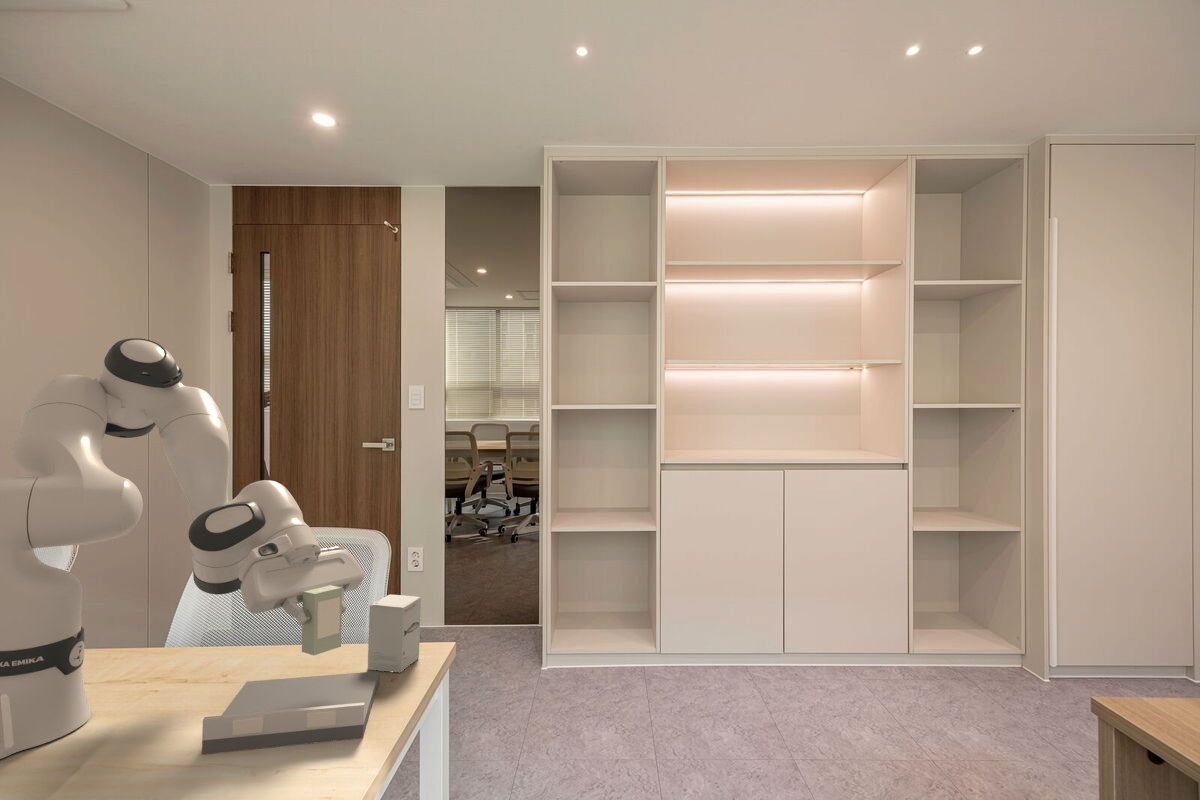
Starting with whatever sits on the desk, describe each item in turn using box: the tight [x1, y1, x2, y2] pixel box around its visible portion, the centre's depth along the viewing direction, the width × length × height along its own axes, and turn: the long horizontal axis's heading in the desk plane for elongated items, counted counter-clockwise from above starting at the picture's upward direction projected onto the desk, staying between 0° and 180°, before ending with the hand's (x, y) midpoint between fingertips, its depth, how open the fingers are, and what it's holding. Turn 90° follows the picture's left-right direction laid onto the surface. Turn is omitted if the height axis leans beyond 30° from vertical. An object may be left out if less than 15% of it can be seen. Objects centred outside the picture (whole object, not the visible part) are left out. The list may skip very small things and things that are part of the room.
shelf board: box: [201, 670, 380, 755], centre depth 98 cm, size 22×19×5 cm
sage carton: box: [301, 585, 342, 656], centre depth 102 cm, size 5×4×10 cm
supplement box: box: [366, 594, 422, 674], centre depth 118 cm, size 7×7×13 cm
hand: (324, 617), depth 101 cm, fingers closed on sage carton, 5 cm apart
